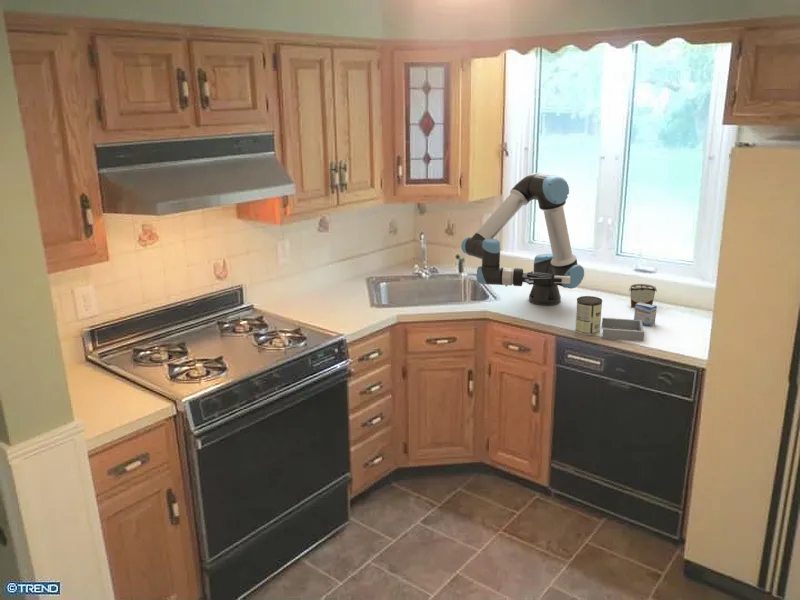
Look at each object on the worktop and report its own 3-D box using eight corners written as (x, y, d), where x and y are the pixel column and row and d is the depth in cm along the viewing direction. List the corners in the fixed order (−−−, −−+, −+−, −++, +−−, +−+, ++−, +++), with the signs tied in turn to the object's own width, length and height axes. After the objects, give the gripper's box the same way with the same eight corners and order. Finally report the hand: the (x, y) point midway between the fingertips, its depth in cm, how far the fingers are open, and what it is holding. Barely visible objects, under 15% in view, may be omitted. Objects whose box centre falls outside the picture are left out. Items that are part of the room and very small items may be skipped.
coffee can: (578, 325, 296) (580, 294, 292) (602, 329, 291) (605, 297, 287) (571, 332, 288) (573, 300, 284) (596, 336, 283) (598, 304, 279)
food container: (651, 304, 324) (653, 283, 321) (655, 307, 318) (657, 287, 315) (625, 303, 325) (626, 283, 322) (627, 307, 319) (629, 287, 316)
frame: (602, 338, 281) (602, 329, 280) (601, 326, 295) (602, 317, 294) (643, 341, 277) (644, 332, 276) (640, 329, 291) (641, 320, 290)
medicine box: (633, 322, 299) (634, 303, 296) (638, 320, 302) (639, 301, 299) (650, 326, 293) (652, 307, 291) (655, 324, 296) (657, 305, 294)
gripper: (514, 281, 299) (570, 284, 292) (511, 289, 286) (569, 293, 280) (515, 264, 296) (571, 267, 290) (511, 272, 284) (570, 275, 278)
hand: (570, 280), depth 285 cm, fingers closed
